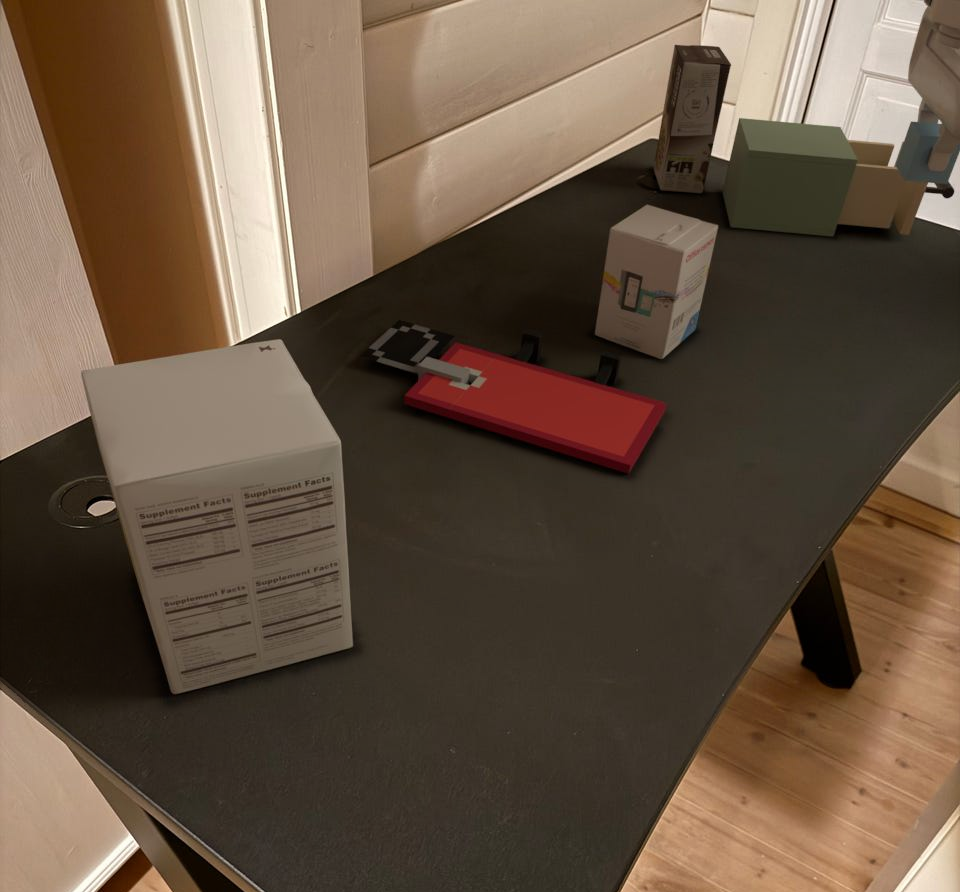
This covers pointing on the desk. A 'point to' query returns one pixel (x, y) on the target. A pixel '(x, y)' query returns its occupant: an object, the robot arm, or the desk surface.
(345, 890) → the desk surface
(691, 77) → the coffee box
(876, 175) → the drawer
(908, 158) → the matte blue-grey cube
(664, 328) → the ink box
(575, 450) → the red board with handle
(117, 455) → the supplement box
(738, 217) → the cabinet
